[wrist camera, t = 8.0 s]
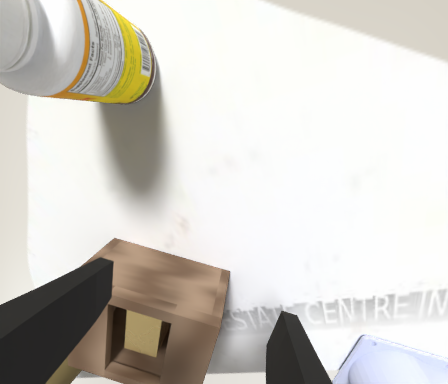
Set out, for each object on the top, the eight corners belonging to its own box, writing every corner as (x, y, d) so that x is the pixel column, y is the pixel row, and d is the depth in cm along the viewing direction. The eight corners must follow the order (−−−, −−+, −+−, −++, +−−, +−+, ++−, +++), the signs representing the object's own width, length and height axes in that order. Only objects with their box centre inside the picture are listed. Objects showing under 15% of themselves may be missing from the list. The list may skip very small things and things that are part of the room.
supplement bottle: (77, 66, 17) (-167, -5, 7) (116, 1, 15) (-140, -215, 5) (131, 121, 17) (-22, 123, 8) (174, 64, 16) (45, -21, 6)
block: (182, 274, 22) (162, 317, 17) (176, 310, 24) (156, 357, 19) (154, 267, 22) (127, 307, 17) (150, 302, 24) (124, 347, 19)
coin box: (229, 271, 21) (220, 328, 15) (209, 340, 24) (195, 407, 19) (114, 238, 21) (64, 280, 16) (110, 309, 25) (68, 365, 19)
